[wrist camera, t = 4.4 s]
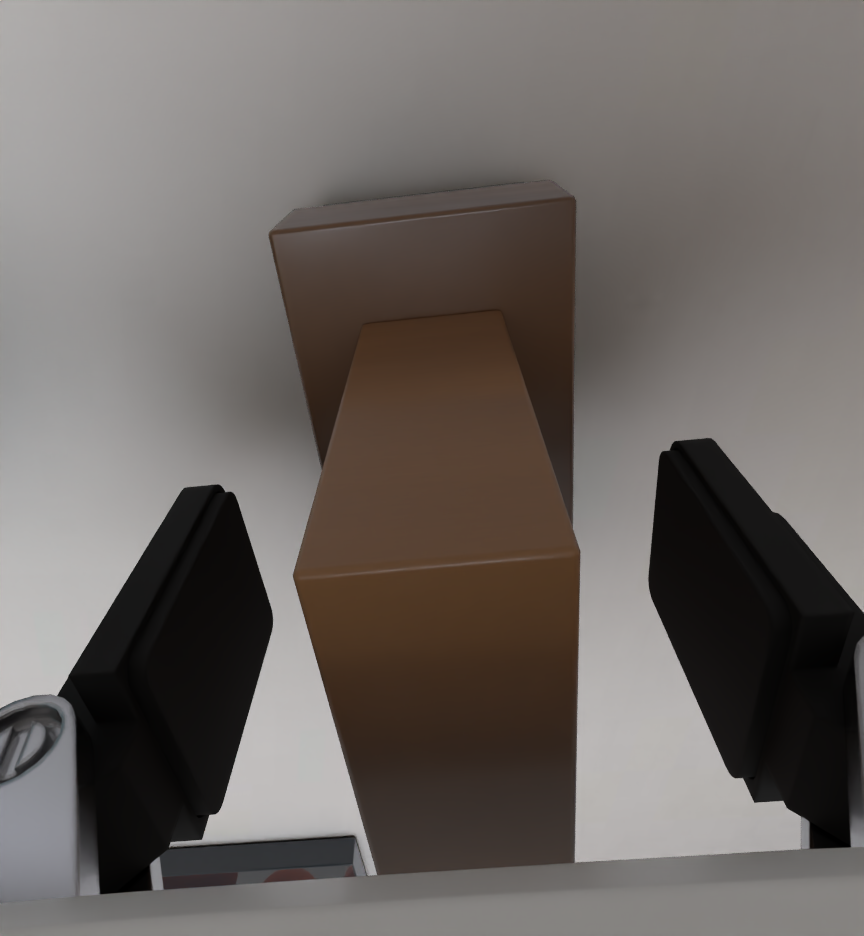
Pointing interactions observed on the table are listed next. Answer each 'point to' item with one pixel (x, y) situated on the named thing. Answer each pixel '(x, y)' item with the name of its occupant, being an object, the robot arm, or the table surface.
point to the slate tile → (261, 863)
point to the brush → (444, 514)
